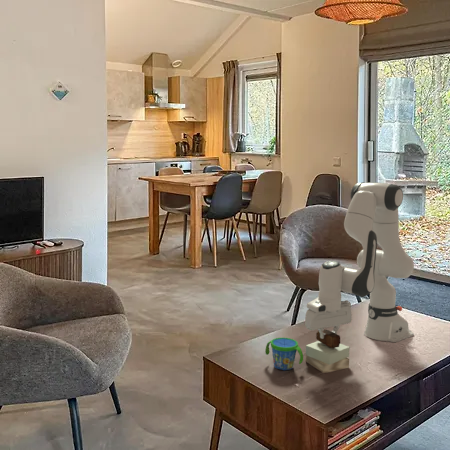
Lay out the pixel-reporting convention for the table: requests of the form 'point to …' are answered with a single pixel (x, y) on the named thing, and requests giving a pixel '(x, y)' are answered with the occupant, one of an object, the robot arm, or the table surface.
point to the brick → (329, 339)
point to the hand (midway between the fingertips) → (328, 337)
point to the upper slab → (327, 352)
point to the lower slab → (326, 367)
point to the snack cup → (284, 352)
